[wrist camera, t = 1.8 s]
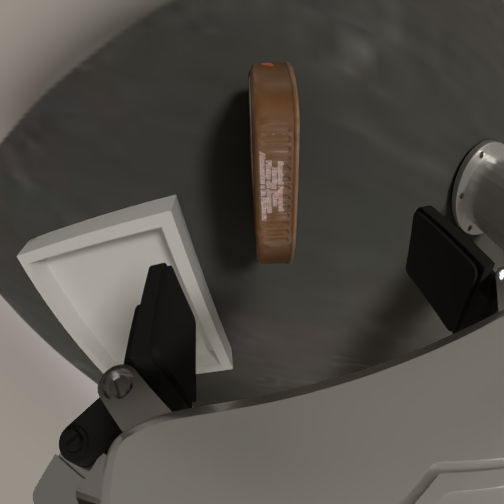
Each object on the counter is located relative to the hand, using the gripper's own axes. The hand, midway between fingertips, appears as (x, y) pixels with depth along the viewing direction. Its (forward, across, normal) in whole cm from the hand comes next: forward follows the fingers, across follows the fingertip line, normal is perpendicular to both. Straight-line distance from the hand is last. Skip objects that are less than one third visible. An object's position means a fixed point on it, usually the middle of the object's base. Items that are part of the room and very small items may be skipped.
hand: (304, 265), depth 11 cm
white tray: (+16, +16, +13) cm, 26 cm away
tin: (+16, -1, 0) cm, 16 cm away
